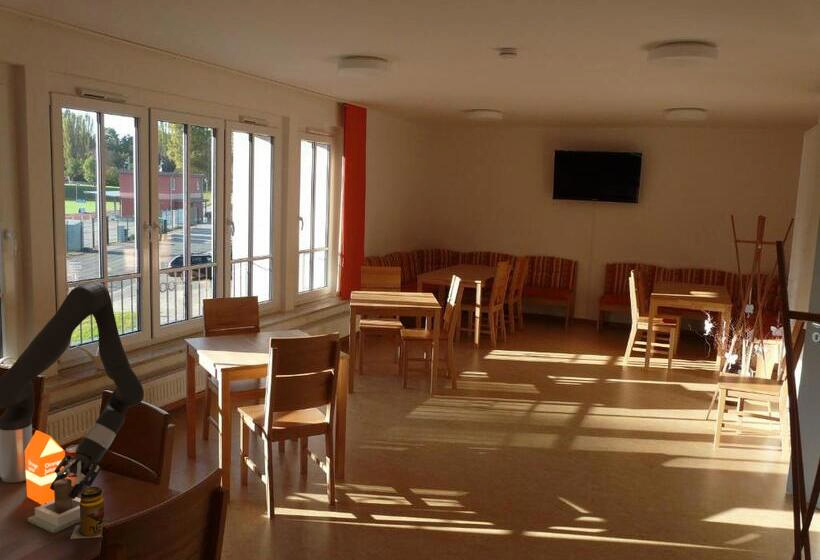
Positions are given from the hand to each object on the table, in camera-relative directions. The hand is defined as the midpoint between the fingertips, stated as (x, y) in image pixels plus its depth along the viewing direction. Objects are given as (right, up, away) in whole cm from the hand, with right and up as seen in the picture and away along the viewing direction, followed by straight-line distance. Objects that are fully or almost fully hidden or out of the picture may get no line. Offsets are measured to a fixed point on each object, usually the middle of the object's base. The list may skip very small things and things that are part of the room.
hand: (61, 493), depth 199 cm
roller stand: (0, -7, +1) cm, 7 cm away
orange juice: (-11, -5, +14) cm, 18 cm away
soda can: (-6, -4, +22) cm, 23 cm away
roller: (0, -6, +1) cm, 6 cm away
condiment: (+11, -9, -6) cm, 15 cm away
